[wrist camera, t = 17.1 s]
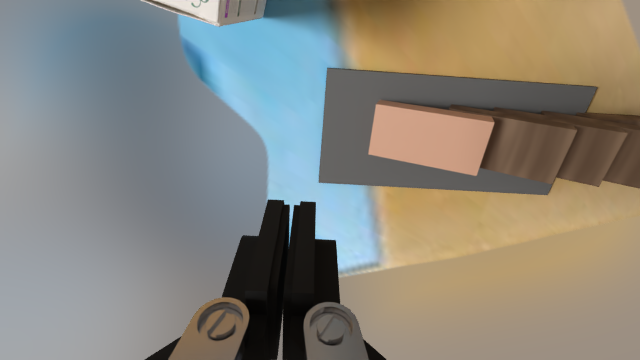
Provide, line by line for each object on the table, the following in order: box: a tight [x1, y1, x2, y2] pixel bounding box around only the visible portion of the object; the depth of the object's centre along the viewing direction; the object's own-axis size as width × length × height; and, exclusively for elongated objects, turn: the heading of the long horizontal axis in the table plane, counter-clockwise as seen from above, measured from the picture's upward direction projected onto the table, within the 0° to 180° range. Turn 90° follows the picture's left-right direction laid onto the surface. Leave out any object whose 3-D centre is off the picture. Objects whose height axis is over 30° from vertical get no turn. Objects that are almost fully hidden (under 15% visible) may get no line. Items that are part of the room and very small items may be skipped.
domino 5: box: [541, 111, 640, 188], centre depth 30 cm, size 2×5×10 cm
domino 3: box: [493, 107, 628, 187], centre depth 30 cm, size 2×5×10 cm
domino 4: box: [576, 112, 640, 126], centre depth 32 cm, size 2×5×10 cm
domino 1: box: [368, 100, 495, 176], centre depth 30 cm, size 2×5×10 cm
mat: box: [319, 68, 597, 195], centre depth 33 cm, size 12×26×1 cm, turn 86°
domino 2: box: [449, 104, 577, 184], centre depth 30 cm, size 2×5×10 cm
